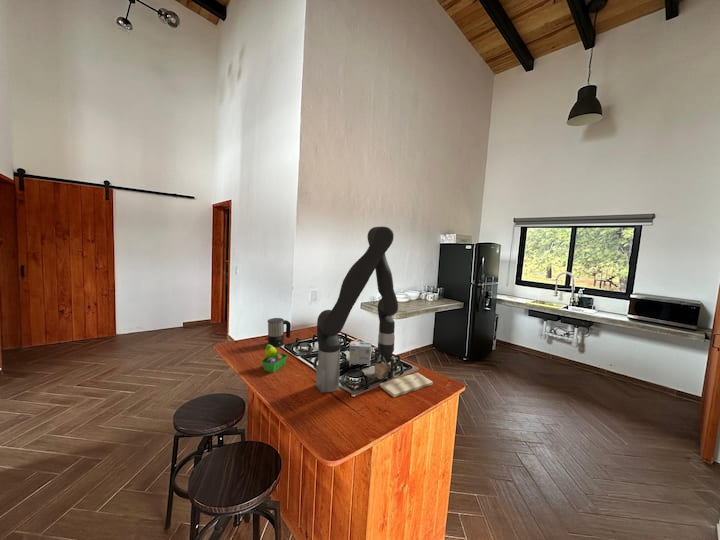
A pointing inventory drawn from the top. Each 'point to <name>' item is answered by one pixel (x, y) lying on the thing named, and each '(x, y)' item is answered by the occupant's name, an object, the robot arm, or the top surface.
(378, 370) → the block
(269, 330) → the milk frother
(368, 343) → the light bulb box
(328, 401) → the top surface
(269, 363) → the fruit basket
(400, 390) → the board
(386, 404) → the top surface
